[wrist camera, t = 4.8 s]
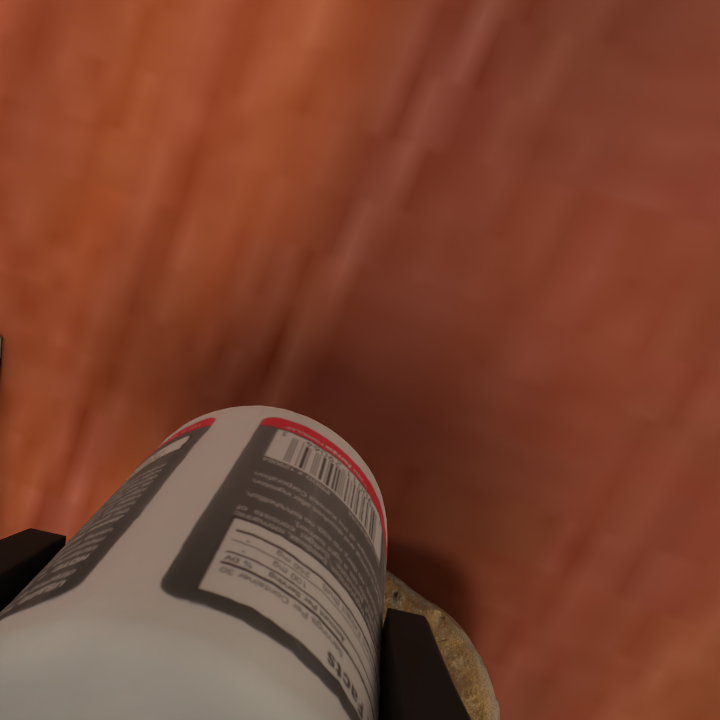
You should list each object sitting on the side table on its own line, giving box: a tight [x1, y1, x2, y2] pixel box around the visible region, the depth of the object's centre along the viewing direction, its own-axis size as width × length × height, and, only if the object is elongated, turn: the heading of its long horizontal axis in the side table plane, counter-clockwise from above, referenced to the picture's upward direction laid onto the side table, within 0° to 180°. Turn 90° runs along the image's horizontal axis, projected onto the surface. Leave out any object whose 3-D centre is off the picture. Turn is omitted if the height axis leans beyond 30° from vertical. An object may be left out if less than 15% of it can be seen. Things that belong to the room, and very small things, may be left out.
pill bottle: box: [0, 405, 387, 720], centre depth 9 cm, size 5×5×10 cm
